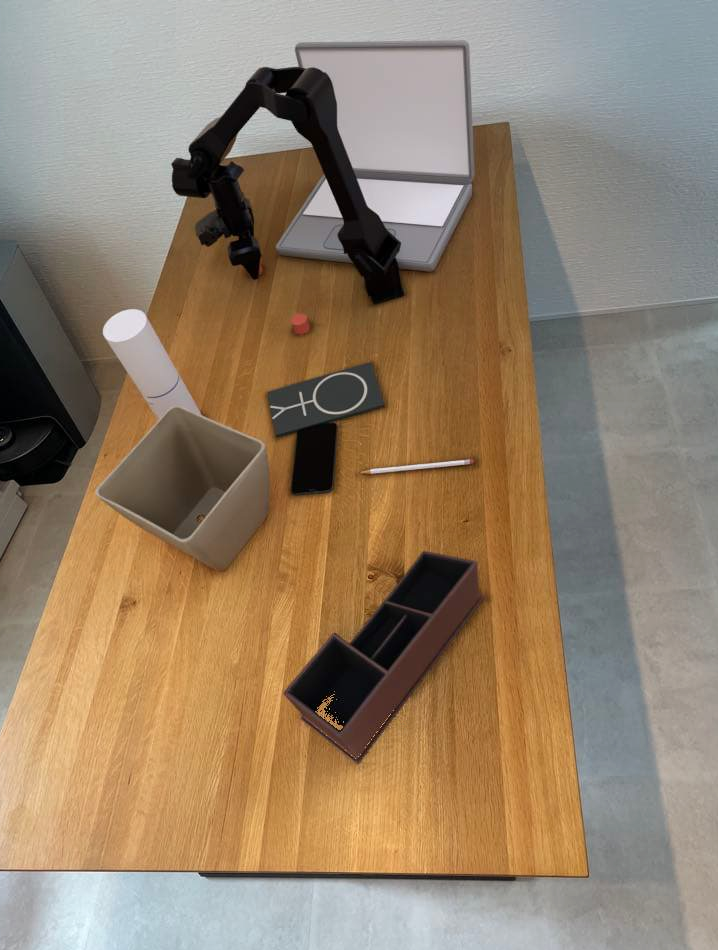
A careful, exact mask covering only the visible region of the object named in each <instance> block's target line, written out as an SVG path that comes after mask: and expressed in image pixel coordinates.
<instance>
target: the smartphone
mask: <svg viewBox="0 0 718 950" xmlns="http://www.w3.org/2000/svg"><path fill="white" fill-rule="evenodd" d="M338 432H339V427H338V424H337V423H335V422H330V423H324V424H318V425H315V426H311V427H308V428H304V429H301V430H298V431H297V432H296V441H295V448H294V457H293V466H292V473H291V482H290V493H291V494H292V496H305V495H306V496H307V495H321V494H329V493H332V492H333V491H334V489H335V487H334V486H335V477H336V460H337V447H338V446H337V445H338Z"/></svg>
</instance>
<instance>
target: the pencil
mask: <svg viewBox="0 0 718 950" xmlns="http://www.w3.org/2000/svg"><path fill="white" fill-rule="evenodd" d="M474 464H475V460H474V458H472V459H470V458H469V459H461V460H452V461H442V462H433V463H432V462H431V463H421V464H419V463H418V464H411V465H400V466H399V465H398V466H391V467H381V468H380V467H378V468H370V469H367V470H363V471H361V472H359V474H360V473H361V474H368V475H369V474H370V475H372V474H373V475H374V474H383V473H394V472H403V471H404V472H405V471H413V470H424V469H434V468H435V469H436V468H444V467H455V466H466V465H474Z"/></svg>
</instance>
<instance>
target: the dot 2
mask: <svg viewBox="0 0 718 950" xmlns="http://www.w3.org/2000/svg"><path fill="white" fill-rule="evenodd" d="M290 323H291V326H292V328H293V331H294V333H295V334H297V335H304V334H307V333H308V332H309V331H310V329H311V326H310V322H309V319H308V316H307V315H306V314H305V313H297V314H295V315H292V316H291V320H290Z"/></svg>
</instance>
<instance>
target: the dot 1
mask: <svg viewBox="0 0 718 950" xmlns="http://www.w3.org/2000/svg"><path fill="white" fill-rule="evenodd" d="M262 273H263V267H262V265H261V263H260V267H259V276H260V275H261V274H262ZM247 274H248V276H249V277H251V276H250V275H249V273H248V272H247Z"/></svg>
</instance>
